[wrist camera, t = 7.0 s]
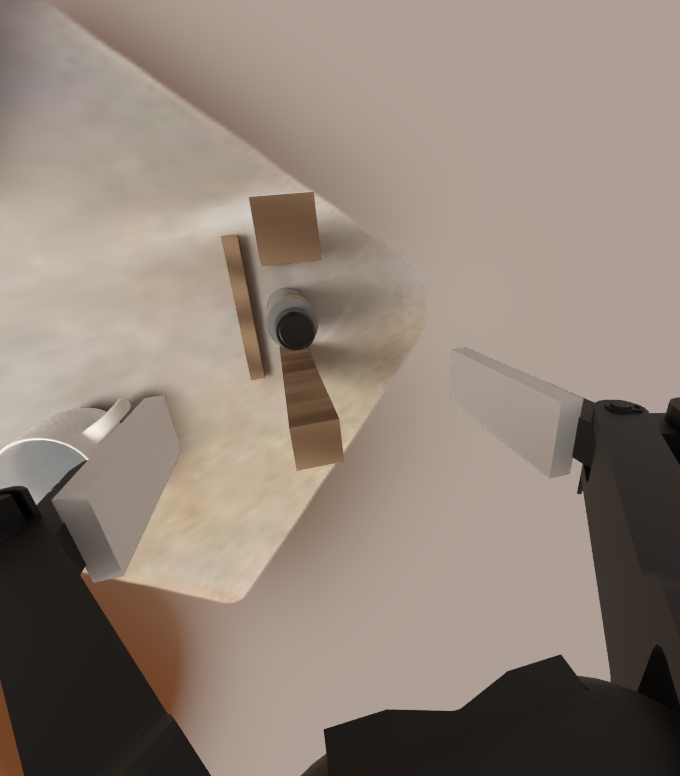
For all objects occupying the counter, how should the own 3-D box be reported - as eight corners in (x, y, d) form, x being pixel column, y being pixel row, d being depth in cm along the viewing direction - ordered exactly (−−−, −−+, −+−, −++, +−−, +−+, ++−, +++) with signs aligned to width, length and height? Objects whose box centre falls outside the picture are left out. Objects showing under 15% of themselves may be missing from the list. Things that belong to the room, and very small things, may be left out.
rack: (222, 237, 46) (163, 204, 20) (289, 230, 47) (313, 192, 21) (251, 375, 53) (235, 482, 27) (308, 367, 54) (344, 461, 29)
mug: (107, 362, 48) (54, 395, 36) (171, 411, 53) (142, 456, 40) (38, 430, 50) (-36, 483, 38) (106, 473, 54) (59, 533, 42)
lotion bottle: (273, 330, 51) (275, 368, 33) (262, 292, 49) (257, 310, 31) (309, 321, 52) (331, 353, 33) (300, 283, 50) (318, 295, 31)
